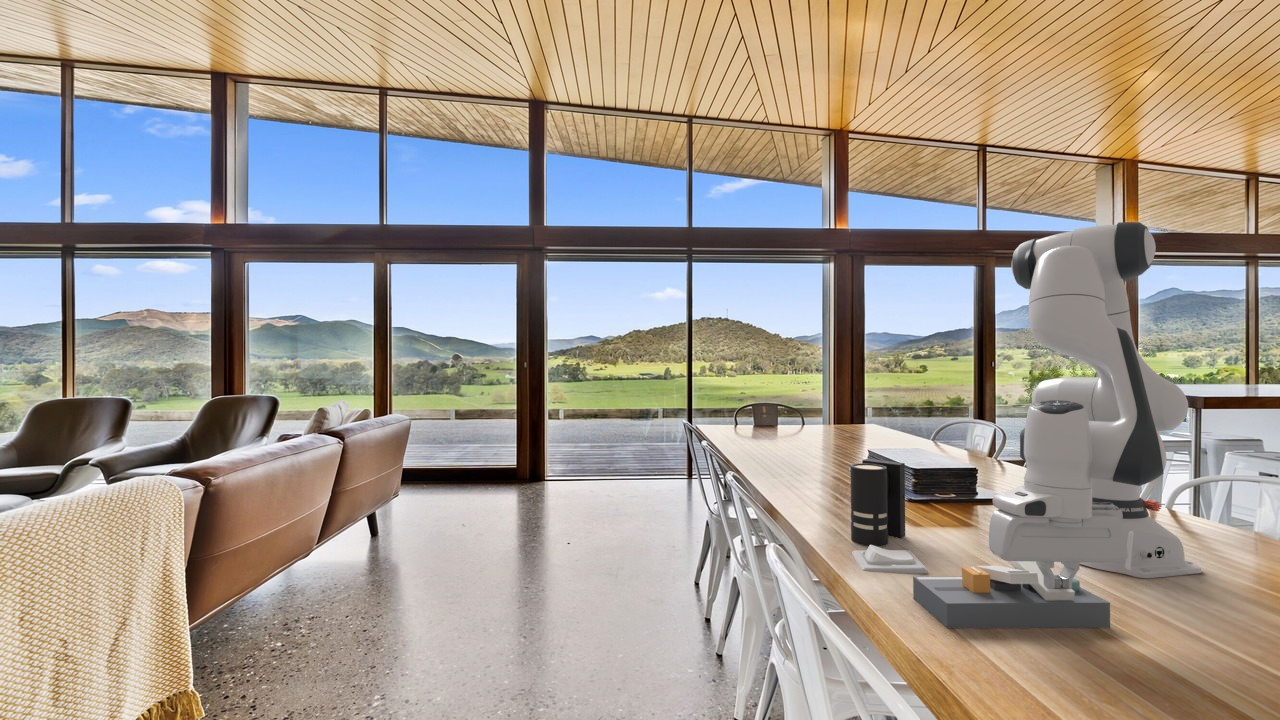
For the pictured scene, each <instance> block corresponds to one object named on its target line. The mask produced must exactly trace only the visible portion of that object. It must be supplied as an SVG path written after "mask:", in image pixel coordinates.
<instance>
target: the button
mask: <svg viewBox="0 0 1280 720" xmlns="http://www.w3.org/2000/svg"><path fill="white" fill-rule="evenodd" d="M1080 586H1081V584H1080V581H1079V580H1078V579H1077V578H1075V577H1074V578H1073V579H1072V590H1073V591H1075V592H1079V591H1080Z"/></svg>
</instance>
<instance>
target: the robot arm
mask: <svg viewBox="0 0 1280 720" xmlns="http://www.w3.org/2000/svg"><path fill="white" fill-rule="evenodd" d="M1156 247H1157V246H1156V242H1155V238H1154V236H1153V234H1152V232H1151V231H1150V230H1149V228H1148V227H1147V225H1145V224H1143V223H1142V222H1138V221H1123V222H1121V221H1120V222H1117V224H1104V225H1096V226H1087V227H1081V228H1076V229H1074V230H1070V231H1063V232H1061V233H1056V234H1053V235H1049V236H1045V237H1042V238H1037V237H1036V238H1033V239H1030V240H1027V241H1024V242H1022V243H1020V244H1019V245H1018V246H1017V247H1016V248H1015V250H1014V251H1013V254H1012V259H1011V271H1012V275H1013V277H1014V280H1015V281H1016V282H1015V283H1016V284H1017V285H1018V286H1020V287H1022V288H1024V289H1025V290H1029V296H1028V297H1029V298H1028V324H1029V330H1030V333H1031V334H1032V337H1034V339H1035V340H1036V341H1037V342H1039V344H1041V345H1043V347H1046V348H1047V349H1049V350H1051V351H1053V352H1055V353H1058V354H1061V355H1064V356H1068V357H1071V358H1072V359H1075V360H1076V361H1080V362H1082V363H1084V364H1087V365H1088V366H1090V367H1091V368H1092V369H1093V370H1094V371H1095V372H1096V373H1097V374H1098V377H1097V376H1096V377H1095V376H1094V377H1093V376H1090V377H1089V376H1064V377H1057V378H1049V379H1045V380H1042V381H1041V382H1040V383H1038V384H1037V386H1035V388H1034V390H1033V392H1032V395H1031V404H1030V405H1029V406H1028V410H1027V414H1026V420H1025V425H1024V428H1023V429H1022V430H1020V432H1019V456H1020V458H1021V460H1023V462H1024V463H1025V464H1026V469H1025V473H1024V476H1023V485H1021V486H1018V487H1016V488H1012V489H1010V490H1006V491H1003V492H1000V493H997V494H995V495H993V496H992V506H993V507H994V508H996V510H995V511H993V512H992V515H991V516H990V521H989V528H988V530H989V531H988V548H989V551H991V553H992V554H993V555H994V556H995V557H997V558H999V559H1000V560H1001V559H1002V560H1003V561H1005V562H1008V561H1036V564H1037V566H1038V568H1039V569H1040V571H1041V572H1042V574H1043V575H1044V585H1045V587H1047V588H1049V589H1072V579H1073V578H1074V579H1075V576H1076V575H1077V573H1078V572H1079V570H1080V565H1083V566H1087V567H1090V568H1093V569H1098V570H1102V571H1107V572H1114V573H1118V574H1124V575H1128V576H1131V577H1134V578H1135V577H1136V578H1140V579H1153V578H1162V577H1163V578H1164V577H1173V576H1184V575H1193V574H1201V573H1202V571H1203V570H1202V567H1200V566H1199V565H1198V564H1196V563H1195V562H1193V561H1191V560H1189V559H1186V558H1185V551H1184V550H1185V549H1184V546H1183V543H1182V541H1181V539H1180V538H1179V537H1178V536H1177V535H1176V534H1174V533H1173V532H1171V531H1170V530H1168V529H1167V528H1166V527H1164V526H1163V525H1162V524H1160V523H1158V521H1156V520H1155V519H1153V518H1152V517H1151V516H1150V514H1149V511H1148V510H1150V511H1153V512H1156V513H1157V512H1160V510H1161V509H1162V504H1160V502H1159V501H1156V500H1152V499H1147V500H1144V499H1143V498H1141V496H1140V495H1141V494H1140V487H1141V486H1144V485H1147V484H1149V483H1151V482H1153V481H1154V480H1157V479H1158V478H1160V477H1161V476H1162V475H1163V474H1164V471H1165V469H1166V466H1167V451H1166V447H1165V444H1164V441H1163V439H1162V437H1161V435H1160V433H1159V432H1166V431H1168V432H1169V431H1173V430H1174V429H1176V428H1178V427H1179V426H1180V425H1182V423H1183V422H1184V421H1185V419H1186V417H1187V415H1188V412H1189V401H1188V399H1187V396H1186V395H1185V393H1184V391H1183V390H1182V389H1181V388H1180V387H1179V386H1178V385H1177V384H1175V383H1174V382H1172V381H1169V380H1168V379H1166V378H1164V377H1163V376H1161V375H1159V374H1158V373H1157V372H1156V371H1155V370H1154V369H1152V368H1151V367H1150V366H1149V364H1148V363H1146V361H1145V360H1144V359H1143V357H1142V356H1141V354H1140V353H1139V351H1138V349H1137V346H1136V343H1135V339H1134V334H1133V329H1132V321H1131V312H1130V302H1129V297H1128V292H1127V288H1126V284H1125V282H1126V283H1127V284H1129V283H1132V282H1133V279H1135V278H1136V277H1139V276H1141V275H1143V274H1144V273H1145V272H1146V271H1147V270H1148V269H1150V267H1151V265H1152V263H1153V260H1154V258H1155V255H1156ZM1055 563H1060V564H1061V565H1062V569H1061V571H1060V573H1059V574H1057V575H1055V576H1054V574H1053V572H1054V571H1053V569H1054V568H1055ZM1052 571H1053V572H1052Z"/></svg>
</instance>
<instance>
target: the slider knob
mask: <svg viewBox="0 0 1280 720" xmlns="http://www.w3.org/2000/svg"><path fill="white" fill-rule="evenodd" d="M961 576H962V585H963V586H965V587H966V588H967V589H969V590H970V591H972V592H973V593H990V574H988V573H986V572H985V571H983V570H982V569H980V568H978V567H974V566H969V567H967V566H966V567H961Z"/></svg>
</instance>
